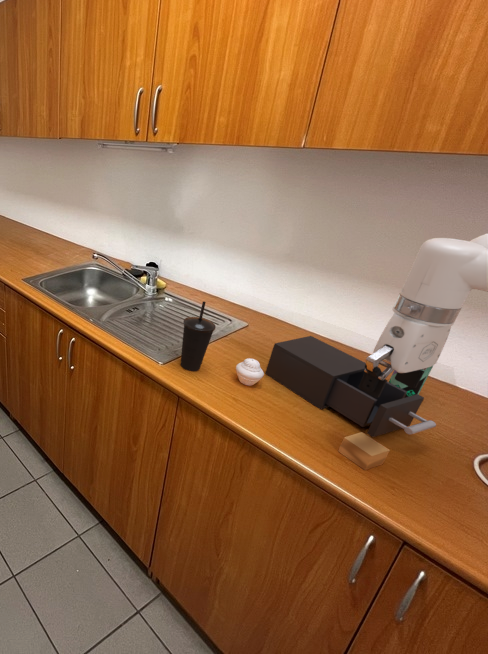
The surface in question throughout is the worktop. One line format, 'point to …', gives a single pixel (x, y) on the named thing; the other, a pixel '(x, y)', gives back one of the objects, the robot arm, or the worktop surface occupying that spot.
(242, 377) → the muffin
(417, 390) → the spray can
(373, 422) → the pull-out drawer
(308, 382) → the drawer box
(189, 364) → the drinking cup
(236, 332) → the worktop surface
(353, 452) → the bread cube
